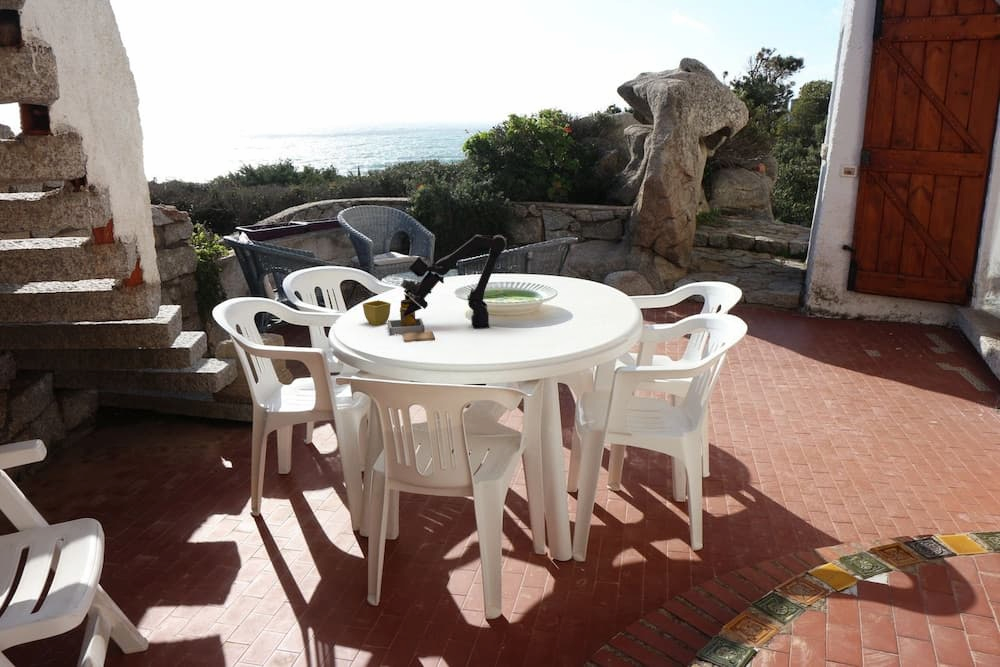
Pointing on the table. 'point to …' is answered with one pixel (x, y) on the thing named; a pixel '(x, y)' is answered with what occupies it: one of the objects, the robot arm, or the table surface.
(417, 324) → the parts tub
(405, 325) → the condiment
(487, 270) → the robot arm
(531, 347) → the table surface
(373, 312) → the flower pot
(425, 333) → the walnut board
